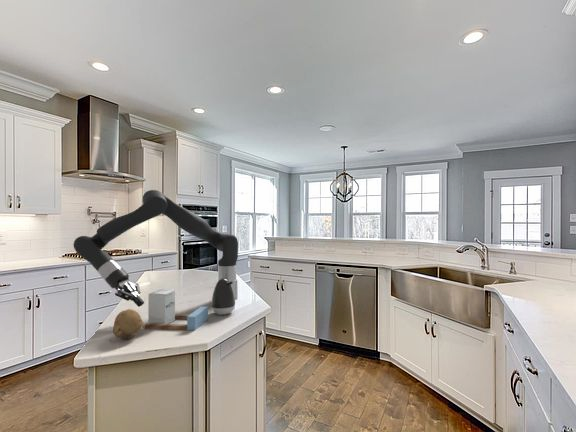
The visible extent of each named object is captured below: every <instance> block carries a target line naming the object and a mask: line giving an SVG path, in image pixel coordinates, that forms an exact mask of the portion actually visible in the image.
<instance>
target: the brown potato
mask: <svg viewBox="0 0 576 432" xmlns="http://www.w3.org/2000/svg"><path fill="white" fill-rule="evenodd" d="M143 326H144V321H143V319H142V316H141V315H140V314H139V312H138V311H136V310H135V309H131V308H128V309H125V310H121V311H120V312H119V313H118V314H117V315H116V316H115V319H114V323H113V328H112V333H113V336H115V337H117V338H120V339H124V340H127V339H128V340H129V339H130V338H132V337H133V336H134V335H135V334H137V333H139V332H140V331H141V330H142V329H143V328H144V327H143Z"/></svg>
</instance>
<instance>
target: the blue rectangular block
mask: <svg viewBox="0 0 576 432" xmlns="http://www.w3.org/2000/svg"><path fill="white" fill-rule="evenodd" d="M188 315H189V316H187V319H186V320H187V322H186V323H187V330H186V331H196V330H198V328H199V327H200V326H201V324H202V325H203V324H204V323H205V322H206V321H207V320H208V319H209V307H208V306H200V307H198V308H197V309H195V310H194V311H193V312H191V313H190V314H188Z"/></svg>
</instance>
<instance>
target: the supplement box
mask: <svg viewBox="0 0 576 432" xmlns="http://www.w3.org/2000/svg"><path fill="white" fill-rule="evenodd" d="M147 297H148V309H147V310H148V311H147V312H148V313H147V314H148V316H147V317H148V319H147V320H148V323H153V324H172V322H174V321H176V319H175V314H176V290H175V289H158V290H155V291H152V292H149V293H148V296H147Z"/></svg>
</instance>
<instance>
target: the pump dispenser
mask: <svg viewBox="0 0 576 432" xmlns="http://www.w3.org/2000/svg"><path fill="white" fill-rule="evenodd" d="M231 284H233V282H232V281H231V282H229V281H228V280H227V279H225V278H223V279H220V280H219V281H218V280H217V282H216V284H215V286H214V289H213V292H212V297H211V303H210V304H211V307H212V310H213V313H215V314H216V315H219V316H225V315H229V314H230V313H232V312H233V311H234V309H235V306H236V299H235V297H234V292H233V289H232V286H231Z"/></svg>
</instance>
